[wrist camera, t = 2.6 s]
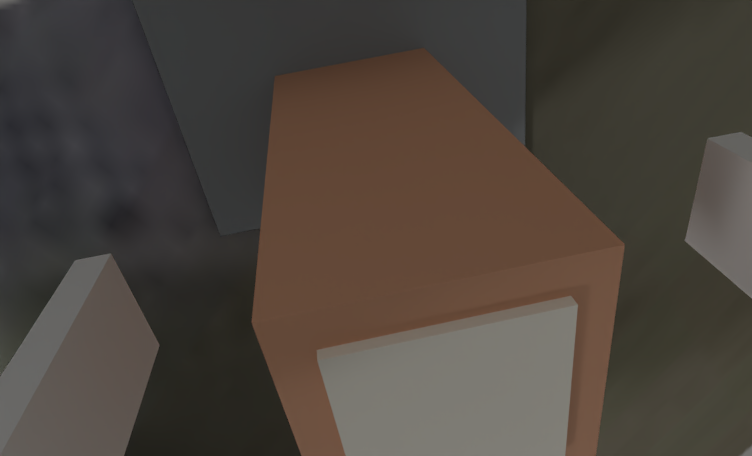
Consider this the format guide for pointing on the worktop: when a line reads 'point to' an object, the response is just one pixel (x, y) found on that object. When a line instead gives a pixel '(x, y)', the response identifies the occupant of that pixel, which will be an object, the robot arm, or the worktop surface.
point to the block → (425, 273)
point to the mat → (309, 51)
